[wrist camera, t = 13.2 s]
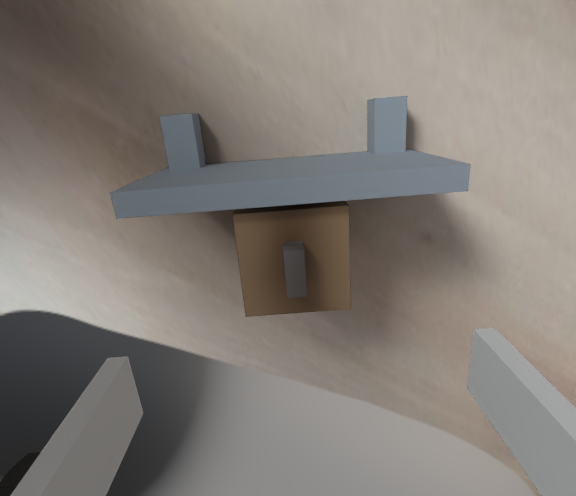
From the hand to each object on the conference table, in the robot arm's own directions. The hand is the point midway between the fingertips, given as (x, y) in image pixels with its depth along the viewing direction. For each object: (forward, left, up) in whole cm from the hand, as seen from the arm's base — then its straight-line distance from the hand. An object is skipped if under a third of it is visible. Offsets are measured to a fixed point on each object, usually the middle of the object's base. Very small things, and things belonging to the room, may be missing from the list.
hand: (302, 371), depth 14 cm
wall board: (0, +7, -20) cm, 21 cm away
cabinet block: (0, 0, -20) cm, 20 cm away
